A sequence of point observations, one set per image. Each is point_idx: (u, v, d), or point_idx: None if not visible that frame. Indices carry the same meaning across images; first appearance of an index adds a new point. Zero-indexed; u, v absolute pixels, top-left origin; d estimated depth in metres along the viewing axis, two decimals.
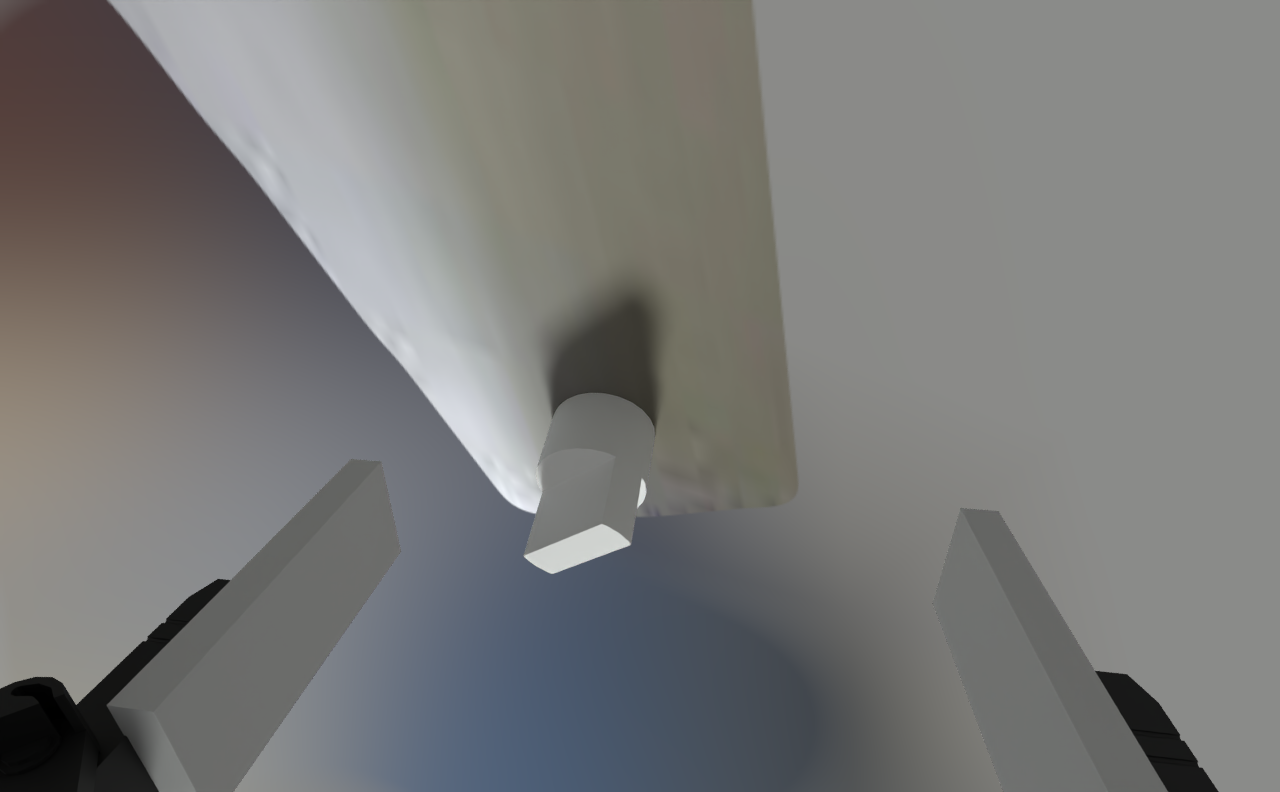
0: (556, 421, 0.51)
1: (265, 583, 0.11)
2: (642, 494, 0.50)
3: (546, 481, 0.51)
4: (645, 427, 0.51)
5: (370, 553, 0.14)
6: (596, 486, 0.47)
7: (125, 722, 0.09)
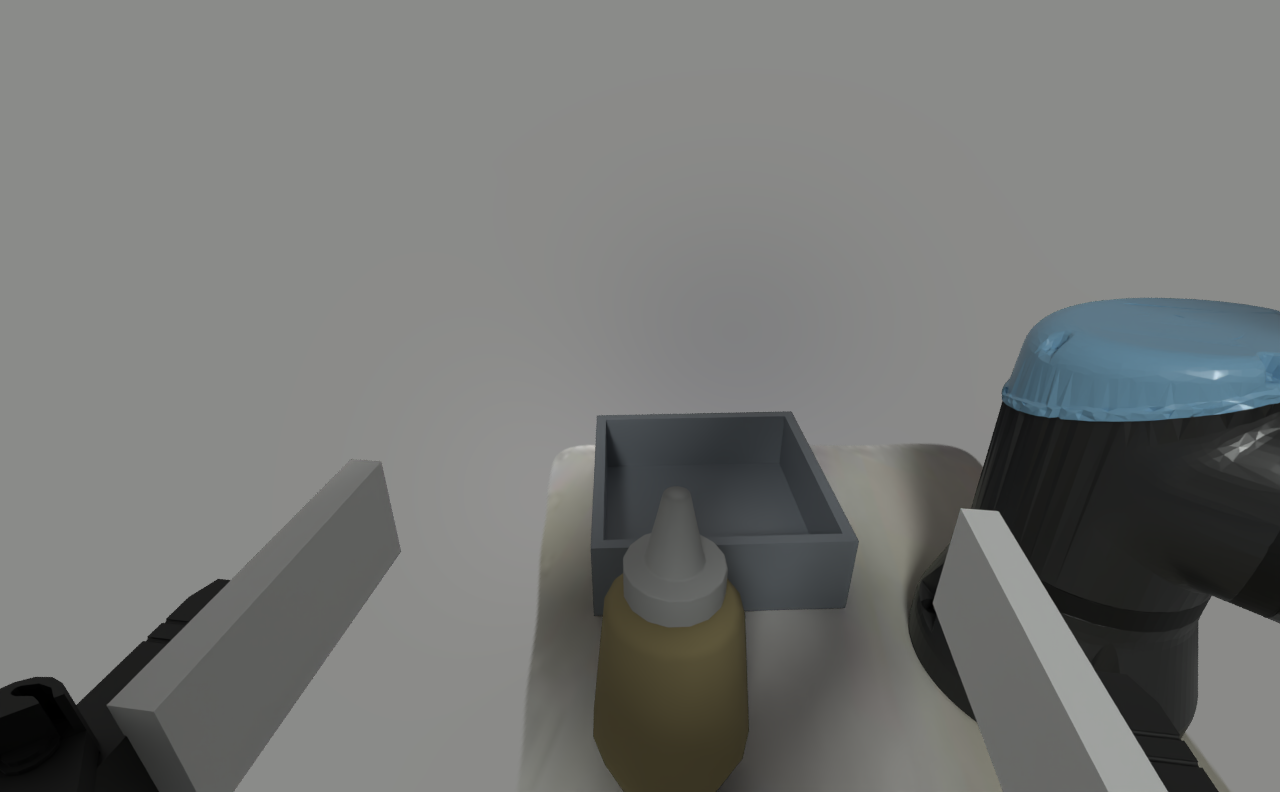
0: None
1: (265, 583, 0.11)
2: None
3: None
4: None
5: (370, 553, 0.14)
6: None
7: (125, 722, 0.09)
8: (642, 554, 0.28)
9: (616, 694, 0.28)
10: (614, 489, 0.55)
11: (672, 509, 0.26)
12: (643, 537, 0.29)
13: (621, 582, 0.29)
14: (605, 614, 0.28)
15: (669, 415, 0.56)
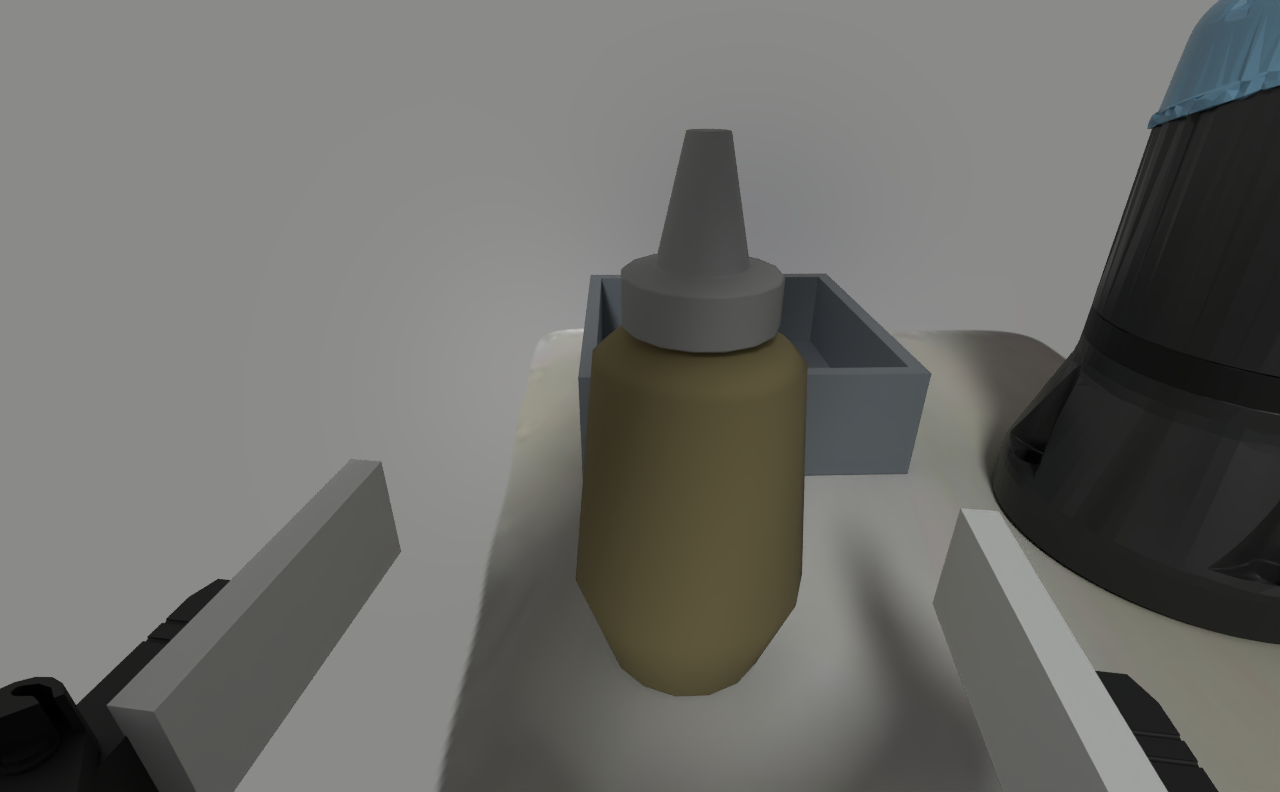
0: None
1: (265, 583, 0.11)
2: None
3: None
4: None
5: (370, 553, 0.14)
6: None
7: (125, 722, 0.09)
8: (650, 263, 0.18)
9: (609, 482, 0.18)
10: None
11: (702, 146, 0.16)
12: (652, 255, 0.19)
13: (618, 329, 0.20)
14: (593, 361, 0.18)
15: None
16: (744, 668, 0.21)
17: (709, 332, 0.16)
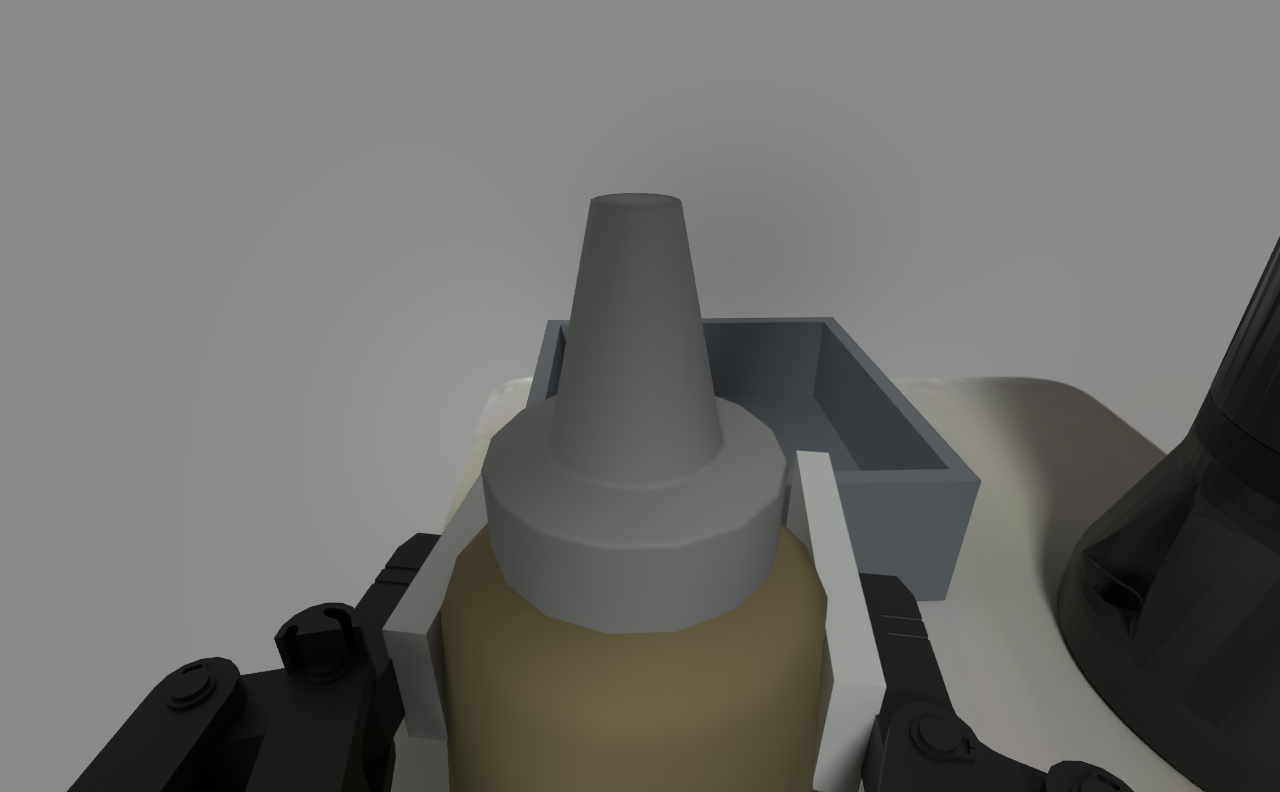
0: None
1: (476, 533, 0.12)
2: None
3: None
4: None
5: None
6: None
7: (395, 645, 0.10)
8: (544, 427, 0.10)
9: None
10: None
11: (618, 236, 0.08)
12: None
13: None
14: (446, 597, 0.10)
15: None
16: None
17: (638, 603, 0.08)
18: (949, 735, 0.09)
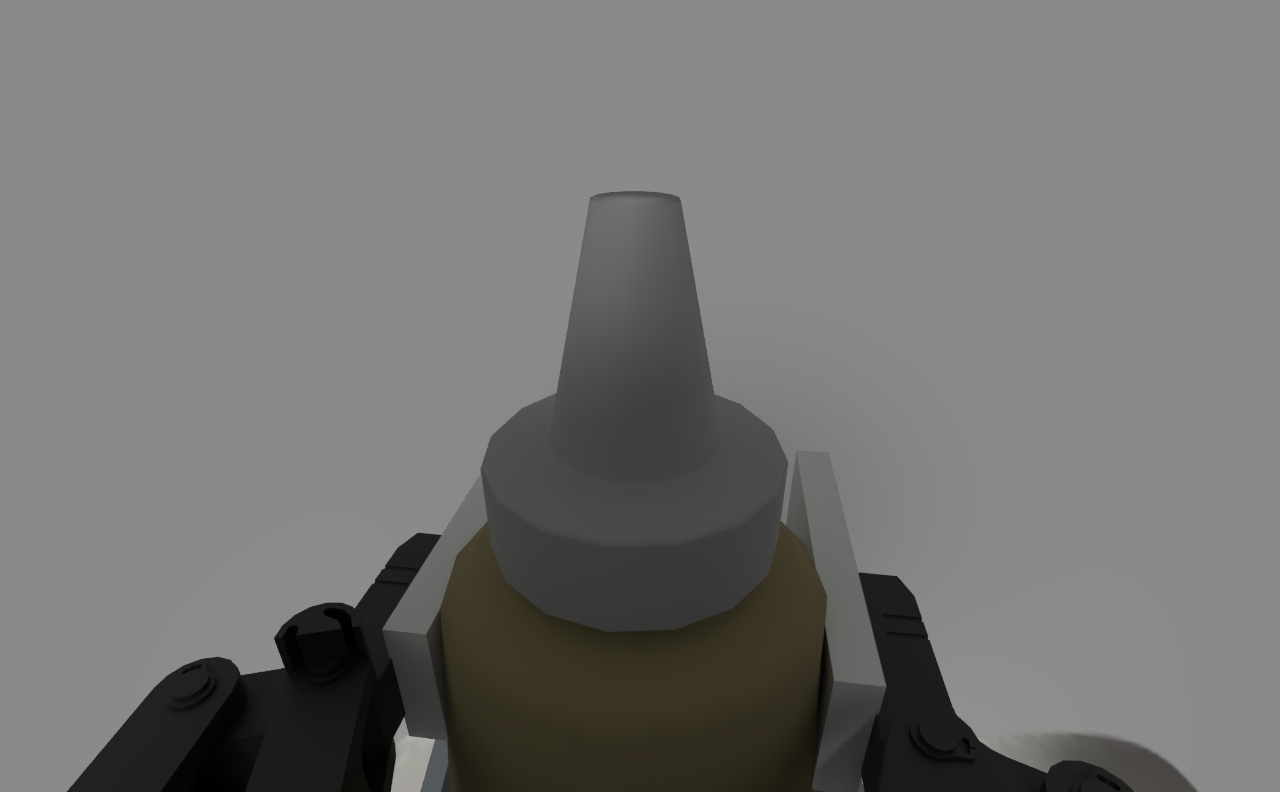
0: None
1: None
2: None
3: None
4: None
5: None
6: None
7: (395, 645, 0.10)
8: (543, 425, 0.10)
9: None
10: None
11: (618, 234, 0.08)
12: None
13: None
14: (446, 595, 0.10)
15: None
16: None
17: (637, 602, 0.08)
18: (949, 735, 0.09)
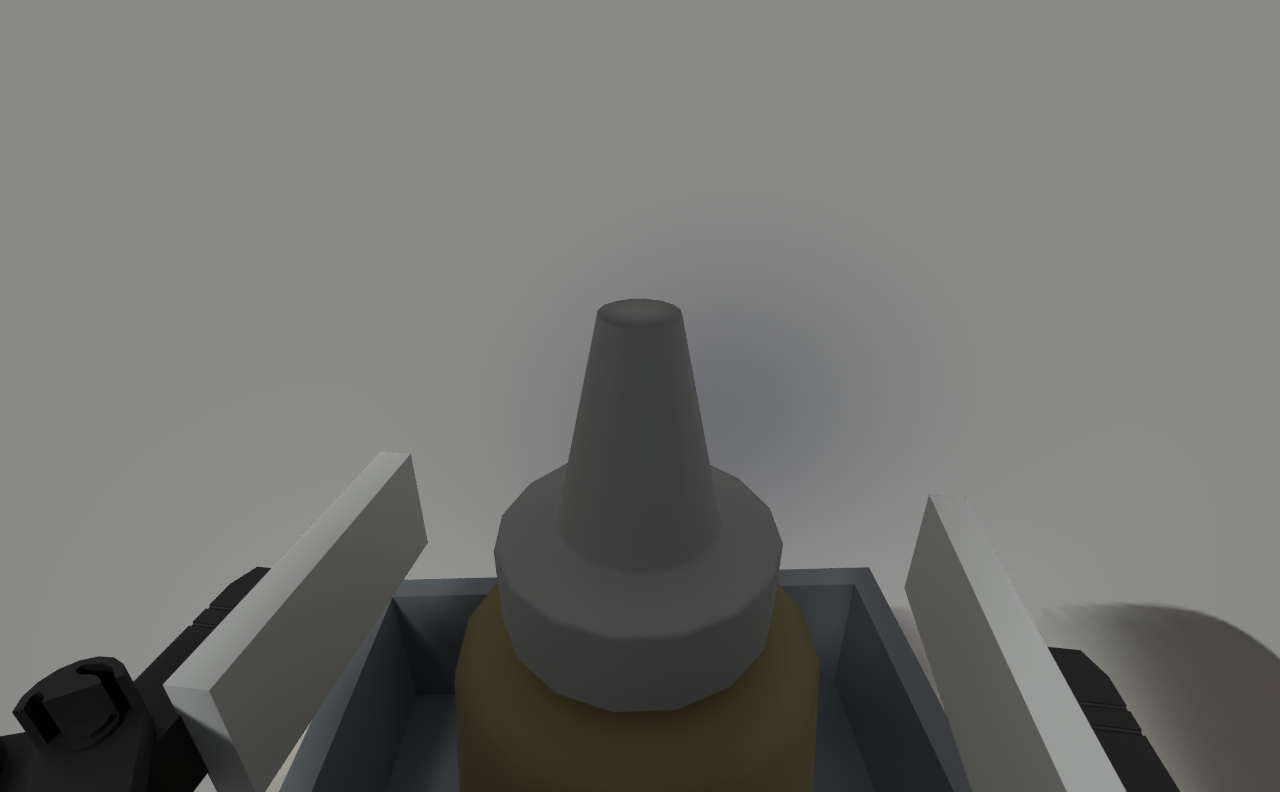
0: None
1: (306, 570, 0.11)
2: None
3: None
4: None
5: (400, 543, 0.15)
6: None
7: (180, 701, 0.09)
8: (552, 505, 0.10)
9: None
10: (406, 789, 0.21)
11: (623, 351, 0.08)
12: (564, 468, 0.12)
13: None
14: (460, 662, 0.11)
15: None
16: None
17: (641, 686, 0.09)
18: None
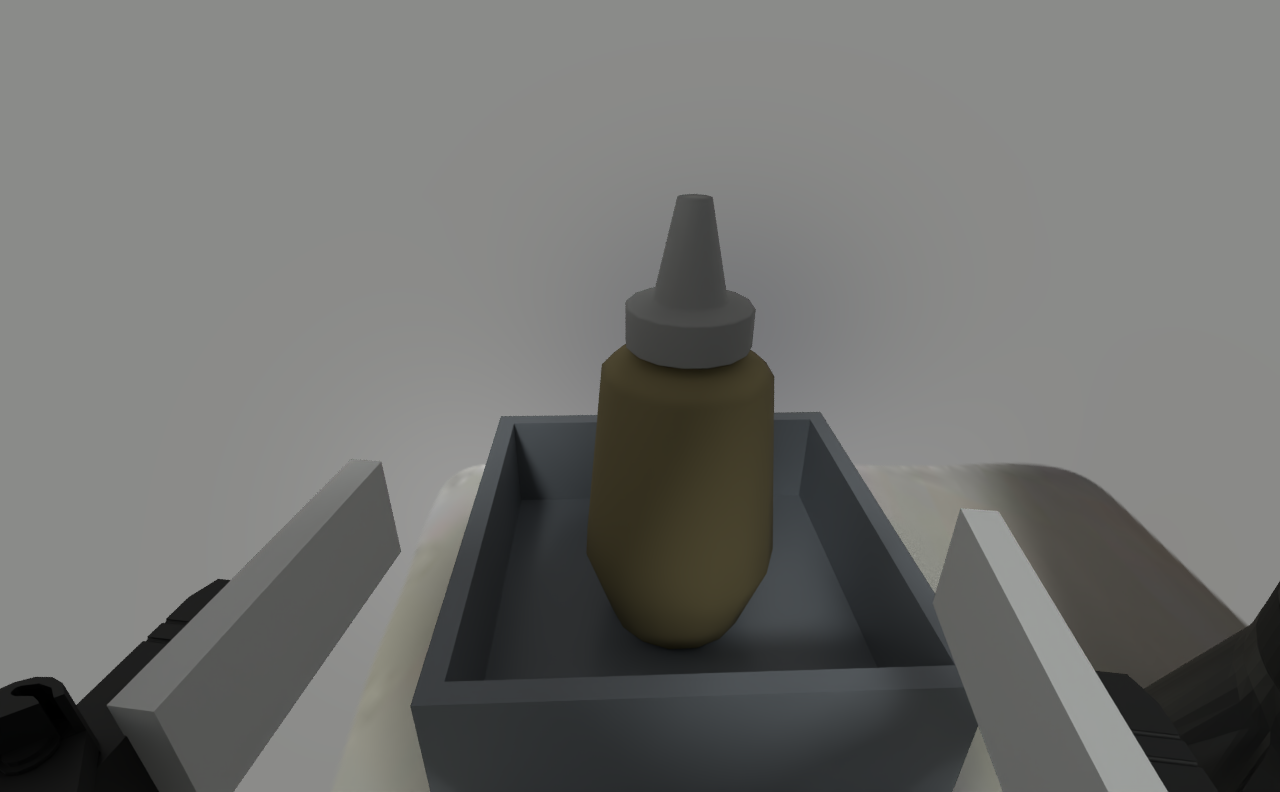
0: None
1: (265, 583, 0.11)
2: None
3: None
4: None
5: (370, 553, 0.14)
6: None
7: (125, 722, 0.09)
8: (649, 296, 0.23)
9: (615, 471, 0.23)
10: (525, 540, 0.33)
11: (689, 210, 0.20)
12: (650, 289, 0.24)
13: (622, 347, 0.24)
14: (603, 374, 0.23)
15: None
16: (724, 625, 0.26)
17: (695, 353, 0.21)
18: None
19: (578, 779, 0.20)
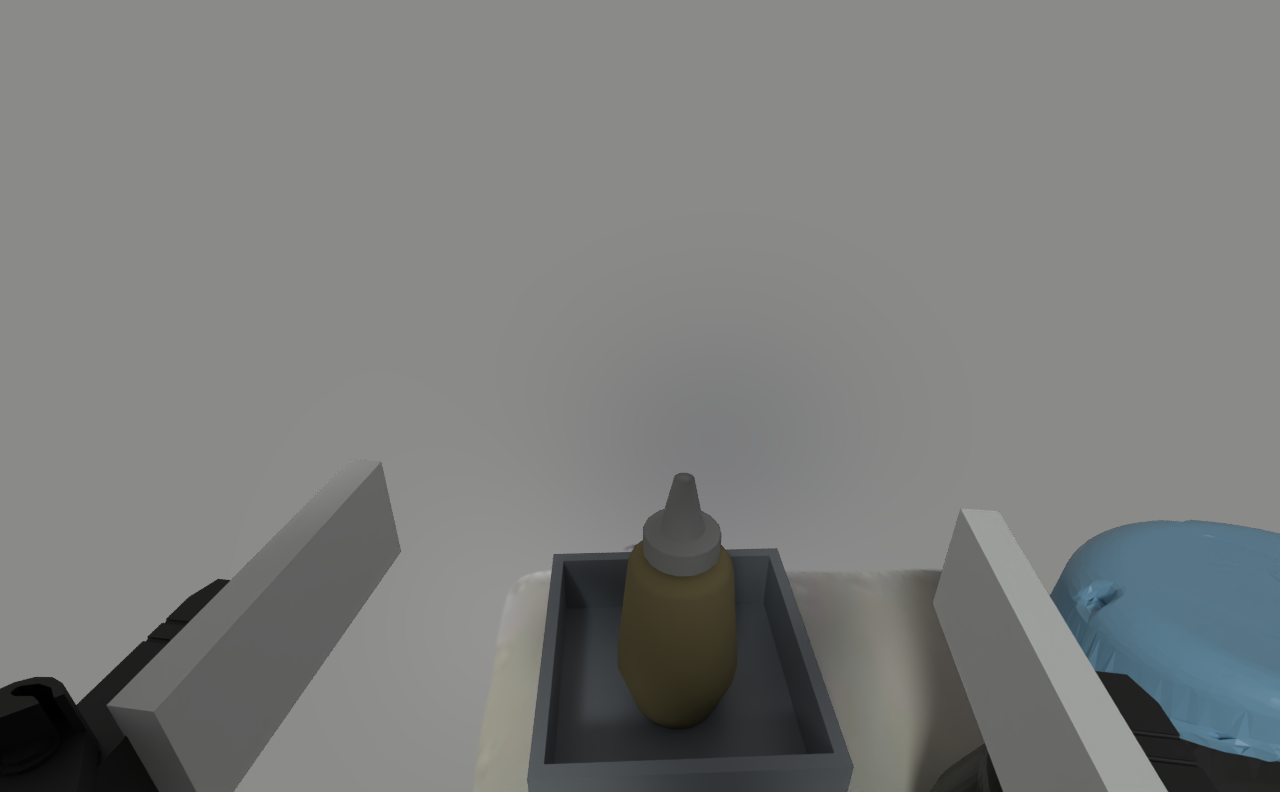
0: None
1: (265, 583, 0.11)
2: None
3: None
4: None
5: (370, 553, 0.14)
6: None
7: (125, 722, 0.09)
8: (657, 524, 0.37)
9: (637, 629, 0.38)
10: (572, 643, 0.47)
11: (681, 489, 0.35)
12: (658, 512, 0.39)
13: (641, 546, 0.39)
14: (630, 569, 0.38)
15: None
16: (706, 714, 0.41)
17: (684, 569, 0.36)
18: None
19: None
